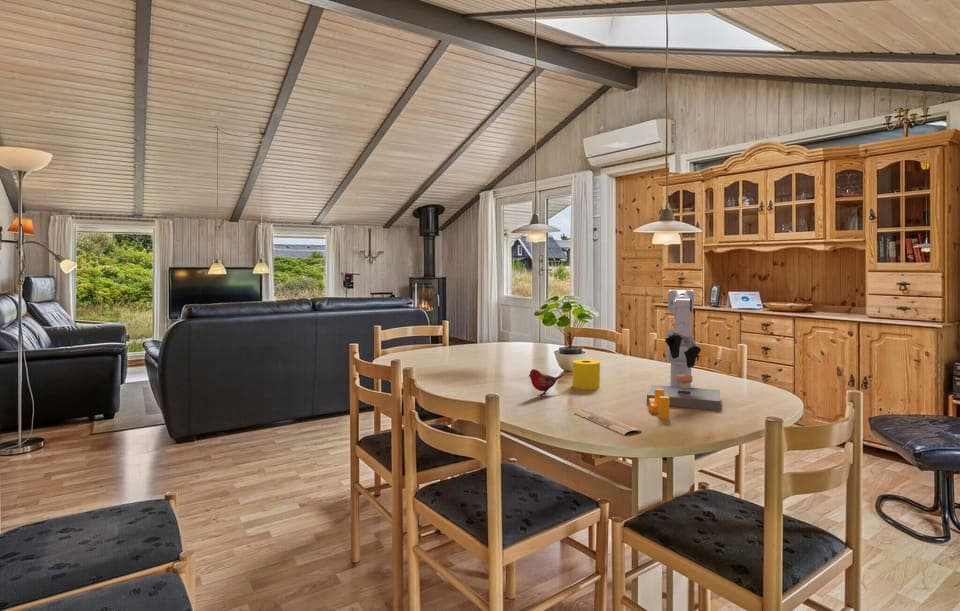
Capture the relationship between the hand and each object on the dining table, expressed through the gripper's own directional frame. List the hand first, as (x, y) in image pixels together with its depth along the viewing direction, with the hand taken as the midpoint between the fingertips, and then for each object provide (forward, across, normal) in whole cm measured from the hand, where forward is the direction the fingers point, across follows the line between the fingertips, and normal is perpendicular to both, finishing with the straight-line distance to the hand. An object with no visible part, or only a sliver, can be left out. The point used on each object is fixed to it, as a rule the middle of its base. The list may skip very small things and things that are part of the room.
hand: (683, 362), depth 179 cm
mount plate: (+11, +6, +4) cm, 13 cm away
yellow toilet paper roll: (+3, -9, +37) cm, 38 cm away
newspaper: (+32, -28, +6) cm, 43 cm away
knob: (+8, +4, +3) cm, 9 cm away
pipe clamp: (+22, -9, +2) cm, 24 cm away
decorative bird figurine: (+14, -26, +37) cm, 47 cm away
